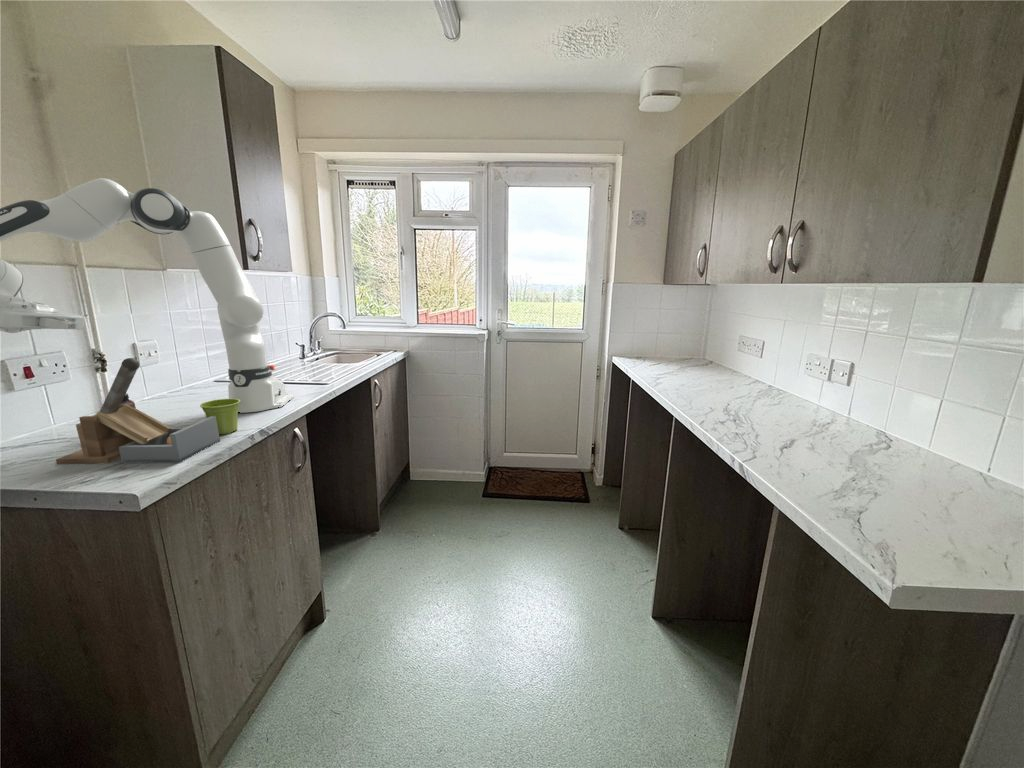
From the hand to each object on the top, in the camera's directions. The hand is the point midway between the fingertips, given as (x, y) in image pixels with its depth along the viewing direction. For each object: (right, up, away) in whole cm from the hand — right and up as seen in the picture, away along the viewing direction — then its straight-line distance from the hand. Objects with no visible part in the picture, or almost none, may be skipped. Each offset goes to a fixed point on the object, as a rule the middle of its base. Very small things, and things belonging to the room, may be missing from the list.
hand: (71, 326), depth 103 cm
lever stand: (+8, -32, +2) cm, 33 cm away
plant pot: (+26, -28, +17) cm, 42 cm away
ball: (+25, -29, +2) cm, 38 cm away
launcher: (+13, -25, +1) cm, 28 cm away
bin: (+24, -31, +2) cm, 39 cm away
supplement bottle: (-2, -29, +16) cm, 33 cm away
